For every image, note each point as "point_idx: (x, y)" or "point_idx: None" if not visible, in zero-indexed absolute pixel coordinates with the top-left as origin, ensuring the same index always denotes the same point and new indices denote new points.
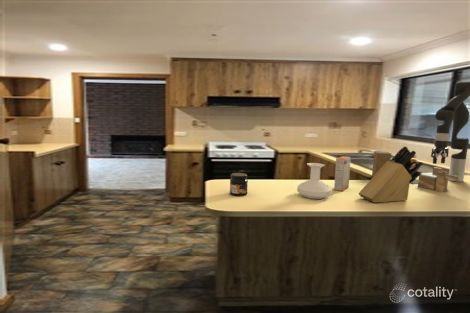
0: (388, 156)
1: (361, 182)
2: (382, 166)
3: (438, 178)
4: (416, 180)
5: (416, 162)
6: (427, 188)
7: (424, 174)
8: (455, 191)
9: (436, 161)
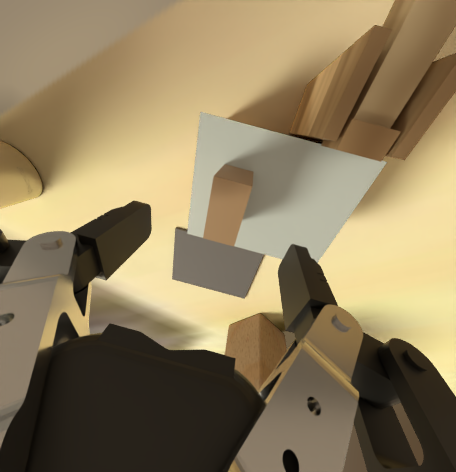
0: None
1: (384, 342)
2: None
3: None
4: (193, 260)
5: None
6: None
7: (317, 241)
8: (261, 42)
9: (306, 262)
